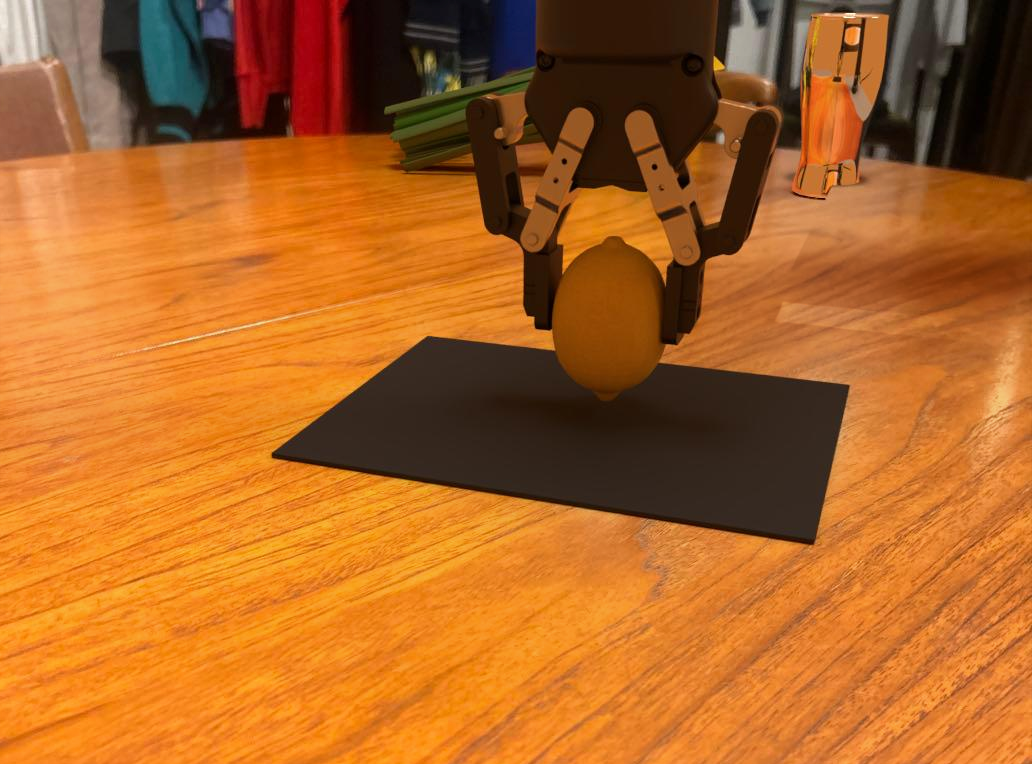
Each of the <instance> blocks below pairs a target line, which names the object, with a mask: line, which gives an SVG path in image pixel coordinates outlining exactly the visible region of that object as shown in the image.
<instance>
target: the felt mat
mask: <svg viewBox="0 0 1032 764" xmlns="http://www.w3.org/2000/svg"><path fill="white" fill-rule="evenodd" d="M850 386H851V384H849V383H848V384H847V383H839V382H829V381H823V380H822V381H821V380H812V379H805V378H796V377H795V378H794V377H787V376H780V375H779V376H778V375H770V374H762V373H752V372H744V371H736V370H727V369H717V368H710V367H709V368H708V367H700V366H692V365H683V364H675V363H667V362H659V363H658V364H657V366H656V367H655V369H654V370H653V371H652V372H651V373H650V375H649V376H648V377H647V378H646V379H645V380H643V381H642V382H641V383H639V384H637V385H636V386H634V387H632V388H630V389H626V390H623V391H621V392H620V393H619V394H618V395H617V396H616V397H615V398H614V399H613V400H611V401H602V400H600V399H599V398H598V397H597V396H596V394H595V393H594V392H593V391H592V390H591V389H589V388H586V387H583V386H582V385H580V384H578V383H577V382H575V381H574V380H573V379H572V378H571V377H570V376H569V375H568V374H567V373H566V371H565V370H564V368H563V367H562V365H561V364H560V362H559V360H558V357H557V355H556V351H555V349H546V348H537V347H528V346H520V345H511V344H502V343H495V342H494V343H493V342H485V341H478V340H477V341H476V340H468V339H461V338H459V339H458V338H452V337H451V338H450V337H442V336H434V335H426V336H425V337H424V338H423V339H421V340H420V341H418V342H417V343H416V344H414V345H413V346H412V347H410V348H409V349H408V350H406V351H405V352H404V353H402V354H401V355H400V356H399V357H397V358H395V359H394V360H393V361H392V362H391V363H389V364H388V365H386V366H385V367H384V368H383V369H381V370H380V371H378V372H377V373H376V374H374V375H373V376H372V377H370V378H369V379H368V380H366V381H365V382H363V384H361V385H360V386H359V387H357V388H356V389H355V390H353V391H352V392H350V393H349V394H348V395H347V396H345V397H344V398H342V399H341V400H340V401H338V402H337V403H336V404H334V406H332V407H331V408H329V409H328V410H327V411H325V412H324V413H322V414H321V415H320V416H318V417H317V418H316V419H315V420H313V421H312V422H311V423H309V424H308V425H307V426H305V427H304V428H303V429H301V430H300V431H298V433H295V435H293V436H292V437H290V439H288V440H287V441H285V442H284V443H283V444H281V445H280V446H279V447H277V448H276V449H275V450H273V451H272V452H271V458H276V459H281V460H282V459H283V460H289V461H295V462H302V463H307V464H313V465H320V466H326V467H332V468H339V469H346V470H351V471H357V472H363V473H370V474H374V475H375V474H376V475H381V476H388V477H395V478H399V479H400V478H402V479H406V480H413V481H419V482H426V483H431V484H437V485H438V484H439V485H444V486H451V487H457V488H464V489H469V490H476V491H480V492H481V491H482V492H487V493H494V494H499V495H507V496H513V497H519V498H526V499H530V500H538V501H545V502H551V503H556V504H563V505H569V506H576V507H581V508H587V509H593V510H600V511H606V512H612V513H619V514H625V515H632V516H637V517H645V518H650V519H655V520H656V519H657V520H662V521H668V522H676V523H679V524H680V523H681V524H686V525H694V526H701V527H705V528H711V529H712V528H713V529H718V530H724V531H731V532H736V533H737V532H738V533H743V534H750V535H755V536H761V537H766V538H767V537H768V538H774V539H780V540H787V541H793V542H799V543H804V544H805V543H806V544H812V545H814V544H815V542H816V538H817V533H818V529H819V525H820V519H821V516H822V511H823V506H824V502H825V498H826V493H827V490H828V489H827V488H828V484H829V480H830V477H831V476H830V475H831V471H832V467H833V463H834V459H835V453H836V449H837V444H838V441H839V437H840V431H841V426H842V422H843V418H844V414H845V408H846V404H847V402H848V401H847V400H848V397H849V396H848V395H849V391H850Z"/></svg>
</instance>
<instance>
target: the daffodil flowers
mask: <svg viewBox="0 0 1032 764" xmlns="http://www.w3.org/2000/svg"><path fill="white" fill-rule="evenodd" d="M535 66H536V65H534V66H532V67H528V68H526V69H523V70H522V69H521V70H519V71H517V72H514V73H511V74H508V75H505V76H502V77H499V78H496V79H494V80H490V81H487V82H483V83H479V84H475V85H470V86H465V87H462V88H456V89H452V90H448V91H443V92H439V93H434V94H432V95H431V94H430V95H427V96H423V97H420V98H416V99H412V100H408V101H404V102H399V103H396V104H391V105H389V106H385V108H384V116H386V115H391V114H395V115H396V117H394V123H393V124H392V127H393V130H394V131H392V133H390V134H389V139H390V140H392V143H393V144H395V143H398V144H399V147H400V149H401V150H402V152H403V153H404V155H405V158H403V159H399V163H400V165H401V167H402V169H403V170H404V172H405V173H406V172H407V173H410V172H414V171H416V170H420V169H423V168H427V167H432V166H434V165H437V164H441V163H444V162H447V161H451V160H454V159H457V158H461V157H465V156H467V155H470V154H472V149H471V144H470V138H469V132H468V126H467V120H466V114H465V110H466V106H467V104H468V103H469V102H470V101H471V100H473V99H476V98H479V97H482V96H485V95H488V94H491V93H494V92H498V93H501V94H503V95H509V94H515V93H521V92H526V89H527V87H528V85H529V83H530V81H531V79H532V77H533V74H534V71H535ZM724 69H726V67H725V66H724V64H723V63H722V62H721V61H720V60H719V59H718V58H717V57H716V56H715V55H714V72H716V71H722V70H724ZM541 143H545V142H544V141H543V139H542V138H541V136H540V134H539V133H538V131H537V129H536V128H535V126H534V125H533V123H532V121H531V120H530V118H529V116H527V117H526V118H525V120H524V124H523V135H522V137H521V138H520V139H519V140H518V141H517V142H515V147H518V146H525V145H532V144H541Z"/></svg>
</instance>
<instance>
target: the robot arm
mask: <svg viewBox="0 0 1032 764" xmlns="http://www.w3.org/2000/svg"><path fill="white" fill-rule="evenodd" d="M719 3H720V0H535V65H534V66H535V71H534V74H533V77H532V79H531V81H530V83H529V85H528V87H527V89H526V92H521V93H515V94H509V95H503V94H501V93H498V92H494V93H491V94H488V95H485V96H482V97H479V98H476V99H473V100H471V101H470V102H469V103H468V104H467V106H466V110H465V114H466V120H467V126H468V132H469V138H470V144H471V149H472V153H471V154H472V155H471V156H472V160H473V161H472V162H473V166H474V172H475V178H476V184H477V191H478V195H479V202H480V206H481V207H480V208H481V213H482V219H483V220H482V221H483V224H484V228H485V229H486V230H487V232H488V233H489V234H491V235H494V236H501V235H502V236H504V237H506V238H508V239H510V240H512V241H514V242H516V243H517V244H518V245H519V247H520V248H521V251H522V255H523V270H522V271H523V274H522V276H523V277H522V279H523V281H522V283H523V287H522V290H523V291H522V292H523V294H522V307H523V310H524V312H525V315H526V317H530V318H533V325H534V329H535V330H539V331H548V332H549V331H552V311H553V304H554V299H555V295H556V291H557V288H558V285H559V282H560V279H561V277H562V275H563V273H564V272H563V271H564V269H563V268H564V244H562V243H561V244H560V243H558V237H559V236H560V234H561V232H562V230H563V227H564V225H565V223H566V222H567V219H568V218H569V215H570V212H571V210H572V208H573V205H574V203H575V202H576V200H577V199H578V198H579V196H580V194H581V192H582V190H583V189H591V190H595V189H601V188H605V187H610V186H613V187H616V188H619V189H621V190H624V191H627V192H636V193H648V196H649V199H650V201H651V204H652V208H653V210H654V213H655V215H656V217H657V218H658V219H659V220H660V221H661V224H662V226H663V229H664V232H665V235H666V238H667V241H668V244H669V247H670V251H671V253H672V256H673V257H672V258H673V259H672V260H671V262H669V264H668V265H667V266H666V276H665V277H666V278H665V301H664V315H663V328H662V344H666V345H671V346H679V344H680V343H681V341H682V340H683V339H684V337H685V334H686V335H690V334H691V332H692V331H693V330H694V328H695V327H696V326H697V324H698V322H699V319H700V318H701V315H702V304H703V303H702V302H703V292H704V280H705V270H706V269H705V268H706V262H707V261H708V260H709V259H713V258H715V257H719V256H722V255H724V256H733V255H736V254H737V253H738V252H739V251H740V250H741V249H742V247H744V243H745V242H746V241H747V240H748V239H749V238H750V236H751V234H752V230H753V228H754V227H753V226H754V223H755V219H756V216H757V213H758V209H759V206H760V202H761V200H762V197H763V192H764V189H765V186H766V183H767V179H768V175H769V173H770V168H771V166H772V162H773V159H774V156H775V152H776V148H777V145H778V142H779V138H780V135H781V132H782V128H783V125H784V121H785V118H784V117H785V115H784V112H783V110H782V109H781V108H780V107H779V106H778V105H775V104H772V103H769V104H766V105H765V104H764V105H763V106H758V105H757V106H756V105H752V104H748V103H744V102H739V101H736V100H730V99H727V98H723V96H722V95H723V94H722V91H721V89H720V86H719V84H718V82H717V79H716V75H715V71H714V56H715V51H716V50H715V49H716V38H717V26H718V24H717V23H718V16H719V15H718V14H719ZM527 116H529V118H530V120H531V121H532V123H533V125H534V126H535V128H536V129H537V131H538V133H539V134H540V136H541V138H542V139H543V141H544V142H543V143H544V144H545V146H546V148H547V149H548V151H549V152H550V154H551V158H550V160H549V162H548V163H547V167H546V168H545V171H544V173H543V176H542V178H541V181H540V183H539V186H538V187H537V190H536V192H535V196H534V199H535V200H534V202H533V205H532V207H531V208H528V207H527V206H525V199H524V194H523V188H522V180H521V174H520V168H519V161H518V155H517V148H516V146H515V142H517V141H518V140H519V139H520V138H521V137H522V135H523V124H524V120H525V118H526V117H527ZM714 125H716V126H717V127H719V128H720V129H721V130H722V133H723V136H724V141H723V149H724V151H725V153H726V155H727V156H728V157H730V158H731V159H734V160H736V162H735V164H734V168H733V172H732V176H731V180H730V182H729V187H728V190H727V194H726V198H725V201H724V205H723V209H722V211H721V215H720V220H719V221H716V222H712V223H709V224H706V223H707V222H706V220H705V217H704V214H703V212H702V211H703V210H702V208H701V204H700V201H699V192H698V188H697V184H696V181H695V178H694V175H693V171H692V168H691V165H690V162H689V160H688V157H689V156H690V155H691V154H692V153H693V151H694V150H695V148H696V147H697V146H698V145H699V144H700V142H701V141H702V140H703V139H704V137H705V136H706V135H707V133H708V132H709V131H710V130H711V128H713V126H714ZM676 174H677V175H678V176H677V175H676ZM662 186H663V187H664V188H663V187H662Z"/></svg>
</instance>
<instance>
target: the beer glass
mask: <svg viewBox="0 0 1032 764" xmlns="http://www.w3.org/2000/svg"><path fill="white" fill-rule="evenodd" d="M889 18H890V15H889V14H885V13H870V12H869V13H867V12H819V13H818V12H817V13H812V14H810V20H809V24H808V30H807V35H806V38H805V39H806V40H805V45H804V49H803V56H802V62H801V71H800V82H799V83H800V84H799V85H800V87H799V88H800V89H799V91H800V94H799V99H800V103H799V105H800V127H801V144H800V145H801V146H800V154H799V160H798V164H797V169H796V172H795V174H794V179H793V181H792V185H791V192H792V191H794V192H796V193H800V194H803V195H807V196H814V197H826V198H827V197H828V195H829V193H830V191H831V189H832V187H833V186H848V185H849V186H850V185H856V184H858V183H860V160H861V153H862V148H863V143H864V140H865V137H866V133H867V131H868V128H869V124H870V121H871V118H872V116H873V112H874V109H875V106H876V102H877V99H878V96H879V91H880V88H881V85H882V79H883V73H884V68H885V61H886V53H887V42H888V28H889V27H888V26H889V20H890V19H889Z"/></svg>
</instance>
